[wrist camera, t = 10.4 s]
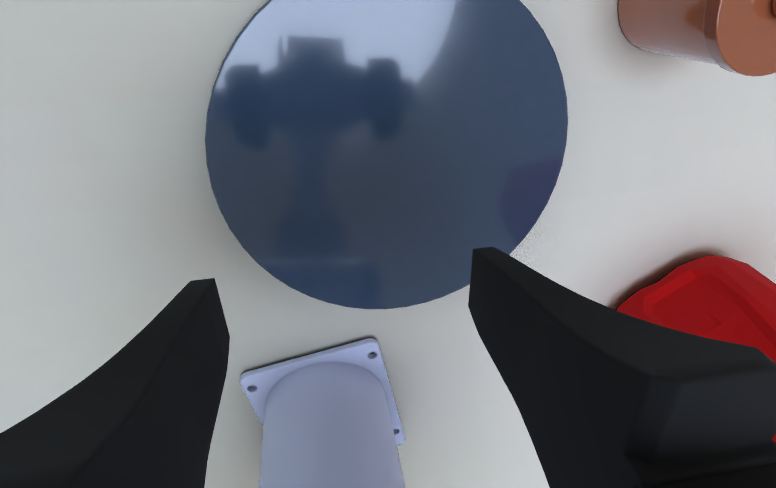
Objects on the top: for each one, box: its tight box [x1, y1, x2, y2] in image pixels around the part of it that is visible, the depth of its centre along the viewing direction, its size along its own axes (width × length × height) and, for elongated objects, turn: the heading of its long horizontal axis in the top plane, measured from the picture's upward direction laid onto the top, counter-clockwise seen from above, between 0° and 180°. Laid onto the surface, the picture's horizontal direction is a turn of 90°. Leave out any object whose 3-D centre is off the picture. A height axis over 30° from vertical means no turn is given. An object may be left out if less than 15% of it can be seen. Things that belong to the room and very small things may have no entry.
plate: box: [205, 0, 568, 309], centre depth 21 cm, size 16×16×1 cm
